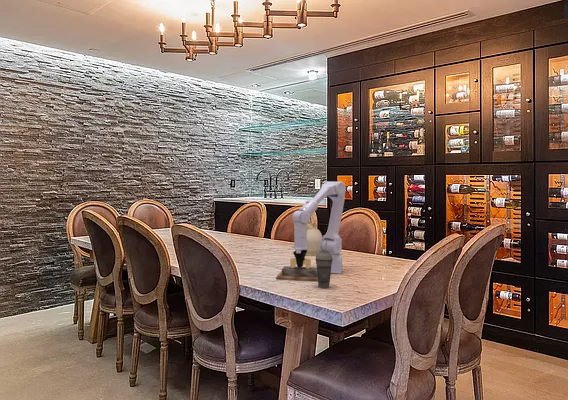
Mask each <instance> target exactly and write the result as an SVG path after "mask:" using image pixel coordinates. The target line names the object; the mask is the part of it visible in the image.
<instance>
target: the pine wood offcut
mask: <svg viewBox="0 0 568 400" xmlns="http://www.w3.org/2000/svg"><path fill="white" fill-rule="evenodd" d="M289 261H290V263H289V264H290V269H296V267H297V263H296V258H295V257H294V258H293V257H292V258H290V260H289ZM311 261H312V259H311V258H305V259H304V260H303V266H305V267H306V270H311V266H312V263H311Z"/></svg>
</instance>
